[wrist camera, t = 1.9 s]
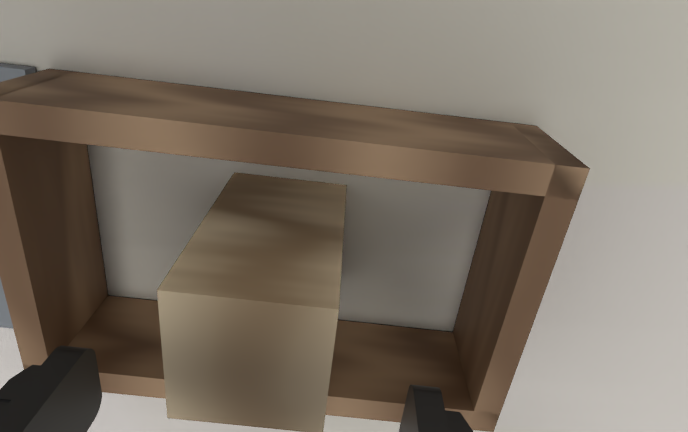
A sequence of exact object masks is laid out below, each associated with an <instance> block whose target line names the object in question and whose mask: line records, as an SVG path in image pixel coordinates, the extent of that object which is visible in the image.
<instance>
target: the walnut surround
mask: <svg viewBox="0 0 688 432" xmlns="http://www.w3.org/2000/svg"><path fill="white" fill-rule="evenodd" d="M87 144H88V145H97V146H106V147H115V148H123V149H132V150H141V151H150V152H159V153H167V154H176V155H185V156H194V157H203V158H211V159H220V160H229V161H238V162H246V163H255V164H264V165H273V166H282V167H290V168H299V169H308V170H317V171H325V172H334V173H343V174H352V175H361V176H369V177H378V178H387V179H396V180H405V181H413V182H422V183H431V184H440V185H448V186H457V187H466V188H475V189H484V190H492V191H491V194H490V198H489V202H488V205H487V209H486V213H485V216H484V220H483V224H482V227H481V231H480V235H479V238H478V242H477V246H476V249H475V253H474V257H473V260H472V264H471V268H470V271H469V275H468V279H467V282H466V286H465V290H464V293H463V297H462V301H461V304H460V308H459V312H458V315H457V319H456V323H455V326H454V330H453V332H445V331H435V330H426V329H417V328H407V327H398V326H388V325H379V324H370V323H360V322H351V321H342V320H338V321H337V329H336V336H335V344H334V352H333V359H332V367H331V374H330V382H329V390H328V397H327V405H326V413H325V415H333V416H343V417H353V418H363V419H372V420H382V421H392V422H401V419H402V415H403V410H404V406H405V402H406V397H407V393H408V389H409V386H410V385H411V384H412V385H421V386H430V387H439V388H440V389H441V392H442V397H443V402H444V408H445V410H447V411H456V412H460V413H461V414H462V416H463V417H464V419H465V420H466V422H467V423H468V424H469V426H470V427H471V429H472V430H480V431H490V432H493V431H494V429H495V426H496V423H497V420H498V418H499V415H500V412H501V409H502V407H503V404H504V401H505V399H506V396H507V393H508V390H509V388H510V385H511V382H512V379H513V377H514V374H515V371H516V369H517V366H518V363H519V360H520V358H521V355H522V352H523V350H524V347H525V344H526V341H527V339H528V336H529V333H530V330H531V328H532V325H533V322H534V320H535V317H536V314H537V311H538V309H539V306H540V303H541V300H542V298H543V295H544V292H545V290H546V287H547V284H548V281H549V279H550V276H551V273H552V270H553V268H554V265H555V262H556V260H557V257H558V254H559V251H560V249H561V246H562V243H563V241H564V238H565V235H566V232H567V230H568V227H569V224H570V221H571V219H572V216H573V213H574V211H575V208H576V205H577V202H578V200H579V197H580V194H581V191H582V189H583V186H584V183H585V181H586V178H587V175H588V172H589V170H590V168H588V167H587V166H586V165H585V164H583V163H582V162H581V161H580V160H578V159H577V158H576V157H575V156H573V155H572V154H571V153H570V152H568V151H567V150H566V149H565V148H563V147H562V146H561V145H560V144H558V143H557V142H556V141H555V140H553V139H552V138H551V137H550V136H549V135H547V134H546V133H545V132H544V131H542V130H541V129H540V128H539V127H537V126H533V125H525V124H516V123H507V122H499V121H490V120H482V119H473V118H465V117H456V116H448V115H439V114H431V113H422V112H414V111H405V110H397V109H388V108H380V107H371V106H363V105H354V104H346V103H337V102H329V101H320V100H311V99H303V98H294V97H286V96H277V95H269V94H260V93H252V92H243V91H235V90H226V89H218V88H209V87H201V86H192V85H184V84H175V83H167V82H158V81H150V80H141V79H133V78H124V77H115V76H107V75H98V74H90V73H81V72H73V71H64V70H56V69H46V70H42V71H39V72H35V73H31V74H28V75H24V76H21V77H17V78H13V79H10V80H6V81H2V82H0V278H1V282H2V286H3V290H4V294H5V298H6V301H7V305H8V309H9V313H10V317H11V321H12V324H13V328H14V332H15V336H16V340H17V344H18V348H19V351H20V355H21V359H22V363H23V367H24V370H25V369H26V368H28V367H29V366H31V365H42V364H43V362H44V361H45V360H46V359H47V358H48V357H49V355H50V354H51V353H52V352H53V351H54V350H55V349H56V348H57V347H59V346H61V345H63V346H72V347H81V348H91V349H93V350H94V351H95V354H96V359H97V365H98V372H99V378H100V384H101V390H102V392H107V393H117V394H127V395H137V396H147V397H156V398H166V394H165V382H164V370H163V358H162V346H161V334H160V321H159V309H158V301H154V300H144V299H135V298H126V297H116V296H108V292H107V285H106V278H105V271H104V263H103V256H102V249H101V242H100V235H99V228H98V221H97V214H96V206H95V199H94V192H93V185H92V178H91V171H90V164H89V156H88V149H87Z"/></svg>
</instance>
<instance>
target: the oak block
mask: <svg viewBox="0 0 688 432" xmlns="http://www.w3.org/2000/svg"><path fill="white" fill-rule="evenodd" d="M346 187H347V185H341V184H332V183H323V182H314V181H305V180H296V179H288V178H279V177H270V176H261V175H252V174H244V173H235V172H234V174H233V175H232V177H231V178H230V180H229V181H228V183H227V184H226V186H225V187H224V189H223V191H222V192H221V194H220V195H219V197H218V198H217V200H216V201H215V203H214V204H213V206H212V207H211V209H210V210H209V212H208V213H207V215H206V216H205V218H204V219H203V221H202V222H201V224H200V225H199V227H198V229H197V230H196V232H195V233H194V235H193V236H192V238H191V239H190V241H189V242H188V244H187V245H186V247H185V248H184V250H183V251H182V253H181V254H180V256H179V257H178V259H177V260H176V262H175V263H174V265H173V266H172V268H171V270H170V271H169V273H168V274H167V276H166V277H165V279H164V280H163V282H162V283H161V285H160V286H159V288H158V289H157V297H158V309H159V321H160V334H161V346H162V358H163V370H164V382H165V394H166V406H167V418H173V419H183V420H193V421H203V422H213V423H223V424H233V425H243V426H253V427H263V428H273V429H282V430H292V431H302V432H323V428H324V420H325V413H326V405H327V397H328V390H329V382H330V374H331V367H332V359H333V352H334V344H335V336H336V329H337V321H338V313H339V301H340V285H341V269H342V252H343V236H344V220H345V203H346Z"/></svg>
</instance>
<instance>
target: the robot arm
mask: <svg viewBox="0 0 688 432" xmlns="http://www.w3.org/2000/svg"><path fill="white" fill-rule="evenodd" d="M101 399H102V390H101V384H100V378H99V372H98V365H97V359H96V354H95V351H94V350H93V349H91V348H81V347H72V346H63V345H61V346H59V347H57V348H56V349H55V350H54V351H53V352H52V353H51V354H50V355H49V357H48V358H47V359H46V360H45V361H44V362H43V364H42V365H31V366H29V367H28V368H26V369H25V370H23V371H22V372H20V373H19V374H17V375H16V376H14V377H13V378H11V379H10V380H9V381H8V382H7V383H6V384H5V385H4V386H3V387H2V388H1V389H0V432H87V430H88V429H89V427H90V426H91V424H92V422H93V421H94V419H95V417H96V415H97V413H98V411H99V408H100V404H101ZM399 432H473V430H472V429H471V427H470V426H469V424H468V423H467V422H466V420H465V419H464V417H463V416H462V414H461V413H460V412H456V411H447V410H445V408H444V402H443V397H442V392H441V389H440V388H439V387H430V386H421V385H412V384H411V385H410V386H409V389H408V393H407V397H406V402H405V406H404V410H403V415H402V419H401V424H400V429H399Z"/></svg>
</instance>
